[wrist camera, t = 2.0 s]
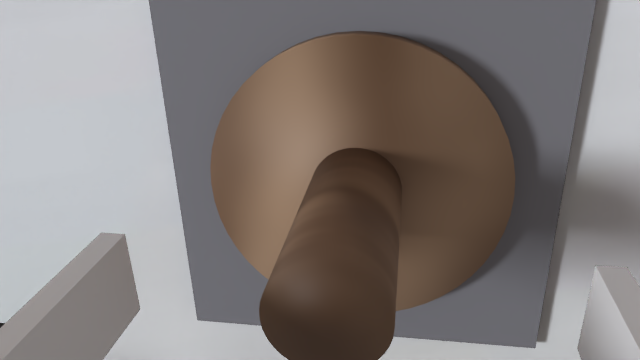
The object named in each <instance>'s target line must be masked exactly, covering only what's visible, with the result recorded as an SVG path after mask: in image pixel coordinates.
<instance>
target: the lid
mask: <svg viewBox="0 0 640 360" xmlns="http://www.w3.org/2000/svg"><path fill="white" fill-rule="evenodd" d="M210 171H211V185H212V191H213V196H214V201H215V204H216V207H217V210H218V213H219V216H220V219H221V221H222V223H223V225H224V227H225V229H226V231H227V233H228V235H229V236H230V238H231V239H232V241H233V243H234V244H235V246H236V247H237V249H238V250H239V251H240V252H241V253H242V255H243V256H244V257H245V258H246V260H247V261H248V262H249V263H250V264H251V265H252V266H253V267H254V268H255V269H256V270H257V271H258V272H260V273H261V274H262V275H263V276H264V277H266V278H267V279H268V282H267V285H266V287H265V289H264V292H263V294H262V297H261V300H260V305H259V317H260V323H261V326H262V329H263V331H264V333H265V335H266V337H267V339H268V340H269V342H270V343H271V344H272V345H273V347H274V348H275V349H276V350H277V351H278V352H279V353H280V354H282V355H283V356H284V357H286V358H287V359H288V360H378V359H379V358H380V357H381V356H382V355H383V354H384V353H385V352H386V350H387V349H388V348H389V346H390V344H391V342H392V339H393V336H394V330H395V316H396V311H399V310H405V309H410V308H413V307H416V306H419V305H422V304H425V303H428V302H430V301H433V300H435V299H437V298H439V297H441V296H443V295H445V294H447V293H448V292H450V291H452V290H453V289H455V288H457V287H458V286H460V285H461V284H462V283H463V282H465V281H466V280H467V279H468V278H470V277H471V276H472V275H473V274H474V273H475V272H476V271H477V270H478V269H479V268H480V267H481V266H482V265H483V264H484V263H485V262H486V260H487V259H488V258H489V256H490V255H491V254H492V252H493V251H494V250H495V248H496V246H497V245H498V243H499V241H500V239H501V237H502V235H503V233H504V231H505V229H506V226H507V223H508V220H509V218H510V215H511V210H512V205H513V201H514V193H515V169H514V159H513V155H512V151H511V147H510V143H509V139H508V137H507V134H506V132H505V130H504V127H503V125H502V122H501V120H500V118H499V116H498V113H497V111H496V110H495V108H494V107H493V105H492V103H491V102H490V100H489V98H488V97H487V95H486V94H485V93H484V91H483V90H482V89H481V88H480V86H479V85H478V84H477V83H476V82H475V80H474V79H473V78H472V77H471V76H470V75H468V74H467V73H466V72H465V71H464V70H463V69H462V68H461V67H460V66H459V65H457V64H456V63H454V62H453V61H452V60H450V59H449V58H447V57H446V56H444V55H443V54H441V53H440V52H438V51H436V50H434V49H432V48H430V47H428V46H426V45H424V44H422V43H419V42H416V41H413V40H410V39H407V38H404V37H401V36H397V35H392V34H387V33H382V32H370V31H349V32H336V33H332V34H327V35H322V36H318V37H314V38H312V39H309V40H306V41H303V42H300V43H298V44H296V45H294V46H292V47H290V48H288V49H286V50H284V51H282V52H281V53H279V54H278V55H276V56H275V57H273V58H272V59H271V60H269V61H268V62H266V63H265V64H264V65H263V66H261V67H260V68H259V69H258V70H257V71H256V72H255V73H254V74H253V75H252V76H251V77H250V78H248V79H247V80H246V81H245V82H244V83H243V84H242V86H241V87H240V88H239V90H238V91H237V92H236V93H235V95H234V96H233V97H232V99H231V100H230V102H229V104H228V106H227V107H226V109H225V111H224V113H223V115H222V117H221V120H220V122H219V125H218V127H217V130H216V133H215V137H214V142H213V146H212V152H211V165H210Z"/></svg>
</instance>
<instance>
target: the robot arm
mask: <svg viewBox="0 0 640 360" xmlns="http://www.w3.org/2000/svg"><path fill="white" fill-rule="evenodd" d="M139 310H140V305H139V300H138V295H137V291H136V286H135V281H134V276H133V271H132V266H131V262H130V257H129V252H128V247H127V242H126V237H125V234H114V233H100V234H99V235H98V236H97V237H96V238H95V239H94V240H93V241H92V242H91V243H90V244H89V245H88V246H87V247H86V248H84V249H83V250H82V251H81V252H80V253H79V254H78V255H77V256H76V257H75V258H74V259H73V260H72V261H71V262H70V263H69V264H68V265H66V266H65V267H64V268H63V269H62V270H61V271H60V272H59V273H58V274H57V275H56V276H55V277H54V278H53V279H52V280H51V281H50V282H48V283H47V284H46V285H45V286H44V287H43V288H42V289H41V290H40V291H39V292H38V293H37V294H36V295H35V296H34V297H33V298H32V299H30V300H29V301H28V302H27V303H26V304H25V305H24V306H23V307H22V308H21V309H20V310H19V311H18V312H17V313H16V314H15V315H14V316H12V317H11V318H10V319H9V320H8V321H7V322H6V323H0V360H103V359H104V357H105V356H106V355H107V353H108V352H109V351H110V349H111V348H112V347H113V345H114V344H115V342H116V341H117V340H118V338H119V337H120V336H121V334H122V333H123V332H124V330H125V329H126V328H127V326H128V325H129V324H130V322H131V321H132V320H133V318H134V317H135V316H136V314H137V313H138V311H139ZM577 349H578V351H579V354H580V357H581V359H582V360H640V287H639V285H638V283H637V282H636V280H635V279H634V277H633V275H632V274H631V272H630V270H629V269H628V267H615V266H600V265H595V270H594V275H593V279H592V284H591V288H590V293H589V297H588V302H587V307H586V311H585V316H584V320H583V325H582V329H581V334H580V339H579V343H578V348H577Z"/></svg>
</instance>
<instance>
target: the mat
mask: <svg viewBox="0 0 640 360" xmlns="http://www.w3.org/2000/svg"><path fill="white" fill-rule="evenodd" d="M149 5H150V12H151V18H152V25H153V31H154V38H155V44H156V51H157V58H158V64H159V71H160V77H161V84H162V90H163V97H164V104H165V110H166V117H167V123H168V130H169V136H170V143H171V150H172V156H173V163H174V169H175V176H176V182H177V189H178V196H179V202H180V209H181V215H182V222H183V228H184V235H185V242H186V248H187V255H188V261H189V268H190V274H191V281H192V288H193V294H194V301H195V307H196V314H197V320H201V321H213V322H225V323H237V324H249V325H261V323H260V317H259V305H260V300H261V297H262V294H263V292H264V289H265V287H266V285H267V282H268V279H267V278H266V277H264V276H263V275H262V274H261V273H260V272H258V271H257V270H256V269H255V268H254V267H253V266H252V265H251V264H250V263H249V262H248V261H247V260H246V258H245V257H244V256H243V255H242V253H241V252H240V251H239V250H238V249H237V247H236V246H235V244H234V243H233V241H232V239H231V238H230V236H229V235H228V233H227V231H226V229H225V227H224V225H223V223H222V221H221V219H220V216H219V213H218V210H217V207H216V204H215V201H214V196H213V191H212V185H211V171H210V165H211V152H212V146H213V142H214V137H215V133H216V130H217V127H218V125H219V122H220V120H221V117H222V115H223V113H224V111H225V109H226V107H227V106H228V104H229V102H230V100H231V99H232V97H233V96H234V95H235V93H236V92H237V91H238V90H239V88H240V87H241V86H242V84H243V83H244V82H245V81H246V80H247V79H248V78H250V77H251V76H252V75H253V74H254V73H255V72H256V71H257V70H258V69H259V68H260V67H261V66H263V65H264V64H265V63H266V62H268V61H269V60H271V59H272V58H273V57H275V56H276V55H278V54H279V53H281V52H282V51H284V50H286V49H288V48H290V47H292V46H294V45H296V44H298V43H300V42H303V41H306V40H309V39H312V38H314V37H318V36H322V35H327V34H332V33H336V32H349V31H370V32H382V33H387V34H392V35H397V36H401V37H404V38H407V39H410V40H413V41H416V42H419V43H422V44H424V45H426V46H428V47H430V48H432V49H434V50H436V51H438V52H440V53H441V54H443V55H444V56H446V57H447V58H449V59H450V60H452V61H453V62H454V63H456V64H457V65H459V66H460V67H461V68H462V69H463V70H464V71H465V72H466V73H467V74H468V75H470V76H471V77H472V78H473V79H474V80H475V82H476V83H477V84H478V85H479V86H480V88H481V89H482V90H483V91H484V93H485V94H486V95H487V97H488V98H489V100H490V102H491V103H492V105H493V107H494V108H495V110H496V111H497V113H498V116H499V118H500V120H501V122H502V125H503V127H504V130H505V132H506V134H507V137H508V139H509V143H510V147H511V151H512V155H513V159H514V169H515V193H514V201H513V205H512V210H511V215H510V218H509V220H508V223H507V226H506V229H505V231H504V233H503V235H502V237H501V239H500V241H499V243H498V245H497V246H496V248H495V250H494V251H493V252H492V254H491V255H490V256H489V258H488V259H487V260H486V262H485V263H484V264H483V265H482V266H481V267H480V268H479V269H478V270H477V271H476V272H475V273H474V274H473V275H472V276H471V277H470V278H468V279H467V280H466V281H465V282H463V283H462V284H461V285H460V286H458V287H457V288H455V289H453V290H452V291H450V292H448V293H447V294H445V295H443V296H441V297H439V298H437V299H435V300H433V301H430V302H428V303H425V304H422V305H419V306H416V307H413V308H410V309H405V310H399V311H396V316H395V330H394V337H406V338H418V339H430V340H442V341H454V342H466V343H479V344H491V345H503V346H515V347H527V348H535V347H536V341H537V335H538V330H539V324H540V318H541V313H542V307H543V301H544V295H545V290H546V284H547V278H548V273H549V267H550V261H551V256H552V250H553V244H554V238H555V233H556V227H557V221H558V216H559V210H560V204H561V199H562V193H563V187H564V181H565V176H566V170H567V164H568V159H569V153H570V147H571V141H572V136H573V130H574V124H575V119H576V113H577V107H578V102H579V96H580V90H581V84H582V79H583V73H584V67H585V62H586V56H587V50H588V45H589V39H590V33H591V27H592V22H593V16H594V10H595V5H596V0H149Z"/></svg>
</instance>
